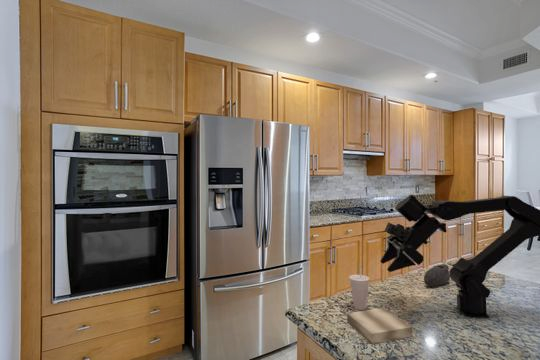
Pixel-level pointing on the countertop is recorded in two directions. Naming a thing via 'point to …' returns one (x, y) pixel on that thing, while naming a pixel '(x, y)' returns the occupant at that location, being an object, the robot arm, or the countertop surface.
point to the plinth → (379, 325)
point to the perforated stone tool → (437, 275)
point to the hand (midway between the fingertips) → (384, 266)
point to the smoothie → (359, 289)
